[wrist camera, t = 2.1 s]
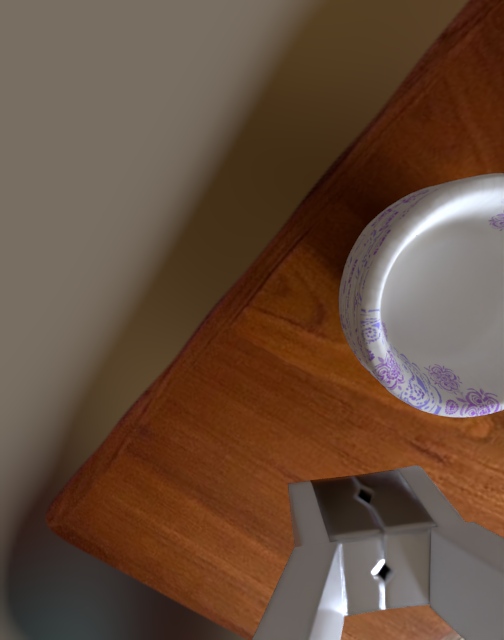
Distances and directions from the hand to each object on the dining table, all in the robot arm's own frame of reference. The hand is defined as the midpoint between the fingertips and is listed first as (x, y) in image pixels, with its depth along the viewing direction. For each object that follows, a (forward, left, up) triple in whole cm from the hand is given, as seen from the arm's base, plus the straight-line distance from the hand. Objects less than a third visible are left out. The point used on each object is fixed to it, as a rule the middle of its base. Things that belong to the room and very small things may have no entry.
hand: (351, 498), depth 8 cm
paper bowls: (+4, +12, -21) cm, 24 cm away
